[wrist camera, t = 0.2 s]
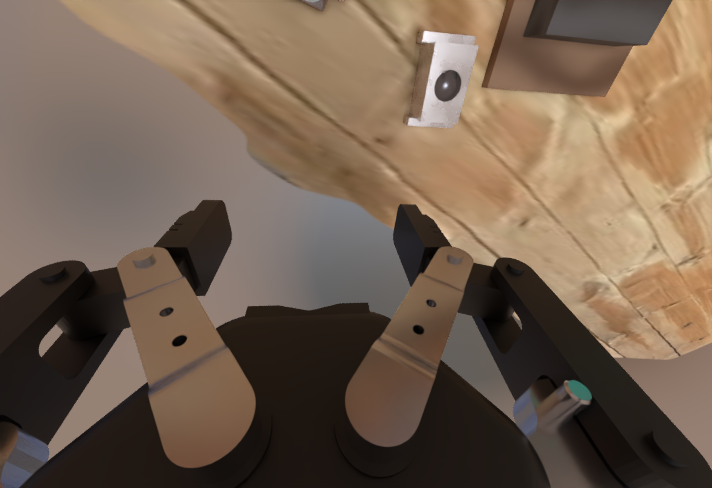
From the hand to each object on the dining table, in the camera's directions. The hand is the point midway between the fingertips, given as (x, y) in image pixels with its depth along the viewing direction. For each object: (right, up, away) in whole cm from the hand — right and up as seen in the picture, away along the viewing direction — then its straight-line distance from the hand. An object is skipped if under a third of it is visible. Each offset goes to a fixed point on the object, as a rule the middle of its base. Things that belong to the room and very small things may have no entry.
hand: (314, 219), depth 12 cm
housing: (+12, +20, +22) cm, 33 cm away
